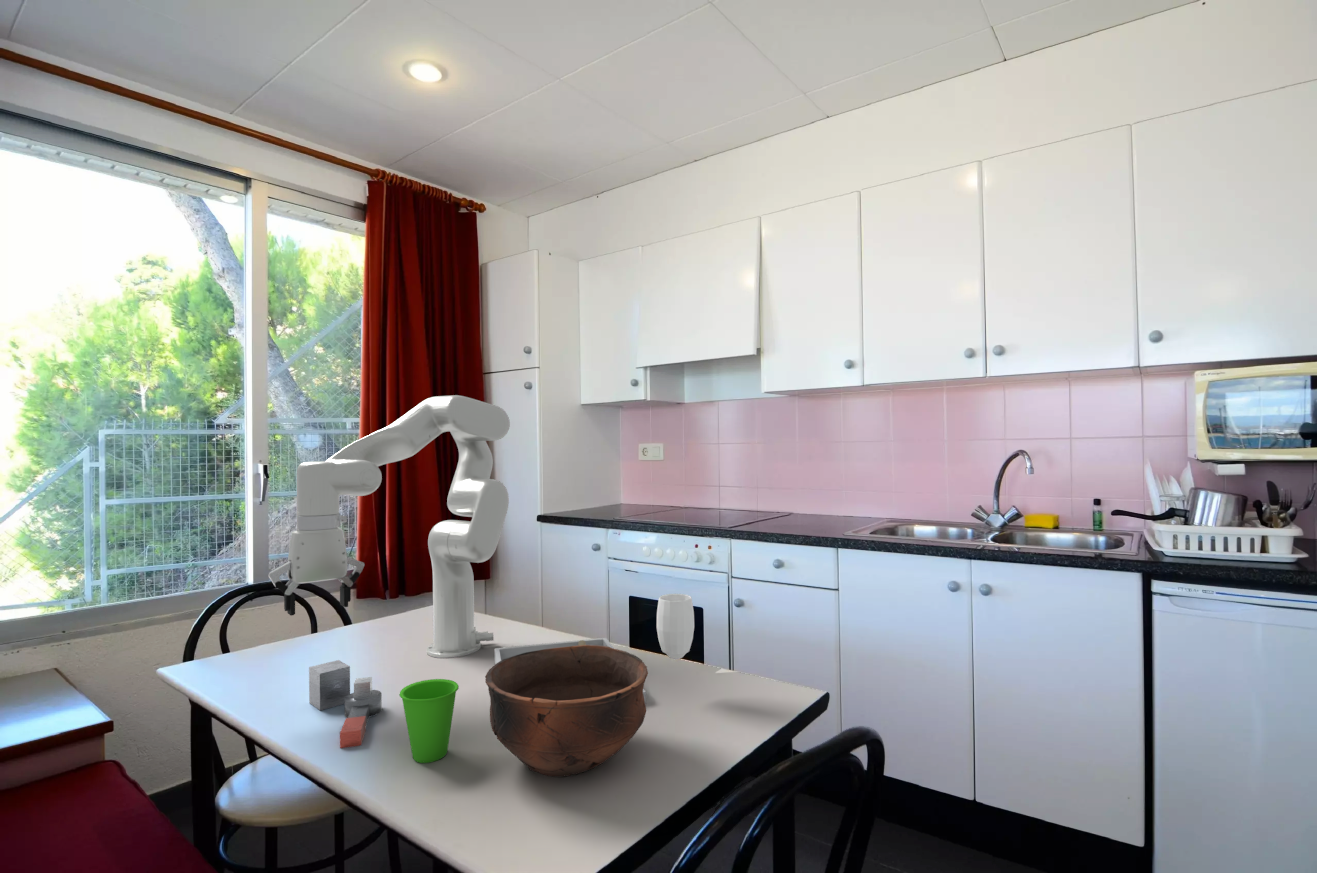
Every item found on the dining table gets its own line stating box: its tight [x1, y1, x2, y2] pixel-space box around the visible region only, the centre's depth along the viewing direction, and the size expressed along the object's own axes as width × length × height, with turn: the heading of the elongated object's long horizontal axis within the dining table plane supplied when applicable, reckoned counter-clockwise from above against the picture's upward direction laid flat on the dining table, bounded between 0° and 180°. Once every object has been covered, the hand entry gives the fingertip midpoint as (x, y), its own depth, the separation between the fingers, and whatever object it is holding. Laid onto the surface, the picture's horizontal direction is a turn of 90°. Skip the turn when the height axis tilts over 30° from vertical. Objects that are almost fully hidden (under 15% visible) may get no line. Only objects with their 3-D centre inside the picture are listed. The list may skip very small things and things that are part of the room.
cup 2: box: [656, 593, 695, 660], centre depth 127 cm, size 7×7×21 cm
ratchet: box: [339, 676, 383, 749], centre depth 120 cm, size 18×6×6 cm, turn 16°
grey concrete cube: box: [308, 659, 351, 711], centre depth 131 cm, size 6×6×7 cm
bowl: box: [484, 645, 649, 778], centre depth 105 cm, size 25×25×15 cm
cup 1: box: [399, 678, 460, 764], centre depth 108 cm, size 9×9×11 cm
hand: (318, 610), depth 132 cm, fingers open, 9 cm apart
